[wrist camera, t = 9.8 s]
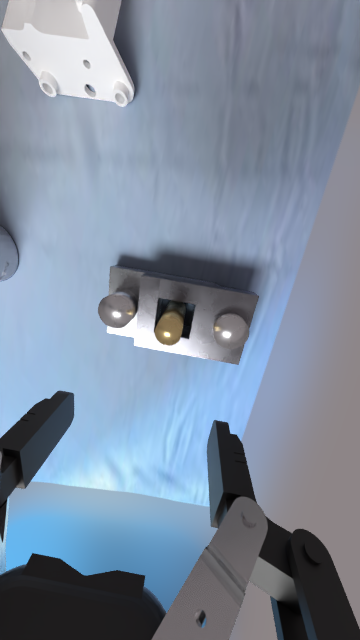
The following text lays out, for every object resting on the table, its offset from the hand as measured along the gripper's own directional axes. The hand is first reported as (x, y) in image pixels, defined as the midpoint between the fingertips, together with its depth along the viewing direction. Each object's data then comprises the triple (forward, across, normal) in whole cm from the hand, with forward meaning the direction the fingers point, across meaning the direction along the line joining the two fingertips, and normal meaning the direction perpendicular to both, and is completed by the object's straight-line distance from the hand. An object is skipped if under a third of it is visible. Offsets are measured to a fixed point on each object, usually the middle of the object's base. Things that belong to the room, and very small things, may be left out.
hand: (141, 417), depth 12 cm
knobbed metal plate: (+22, 0, 0) cm, 22 cm away
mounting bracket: (+22, +15, -28) cm, 39 cm away
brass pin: (+22, 0, 0) cm, 22 cm away
